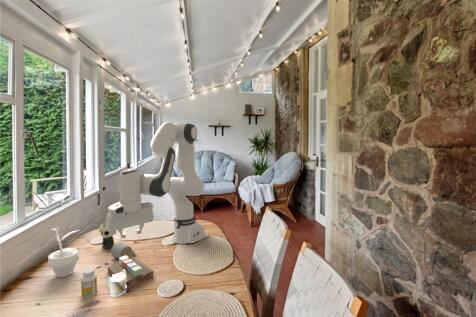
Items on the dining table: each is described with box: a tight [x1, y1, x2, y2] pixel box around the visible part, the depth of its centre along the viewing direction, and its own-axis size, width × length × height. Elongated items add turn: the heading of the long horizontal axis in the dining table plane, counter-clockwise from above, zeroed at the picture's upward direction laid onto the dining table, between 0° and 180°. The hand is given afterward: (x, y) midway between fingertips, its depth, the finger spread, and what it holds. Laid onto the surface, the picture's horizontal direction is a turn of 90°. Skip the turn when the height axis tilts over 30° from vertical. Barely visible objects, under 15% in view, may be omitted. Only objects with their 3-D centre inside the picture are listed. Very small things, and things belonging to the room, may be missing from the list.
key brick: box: [123, 258, 133, 270], centre depth 117 cm, size 3×3×3 cm
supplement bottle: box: [80, 267, 98, 298], centre depth 101 cm, size 5×5×10 cm
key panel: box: [107, 256, 154, 289], centre depth 115 cm, size 13×19×3 cm
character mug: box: [98, 222, 117, 249], centre depth 144 cm, size 11×7×13 cm, turn 78°
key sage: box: [131, 265, 142, 278], centre depth 110 cm, size 3×3×3 cm
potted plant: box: [47, 224, 81, 278], centre depth 115 cm, size 13×12×25 cm
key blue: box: [127, 262, 137, 274], centre depth 114 cm, size 3×3×3 cm
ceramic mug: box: [110, 241, 136, 260], centre depth 132 cm, size 11×8×8 cm
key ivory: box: [118, 256, 130, 266], centre depth 120 cm, size 3×3×3 cm
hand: (131, 235), depth 112 cm, fingers open, 6 cm apart
